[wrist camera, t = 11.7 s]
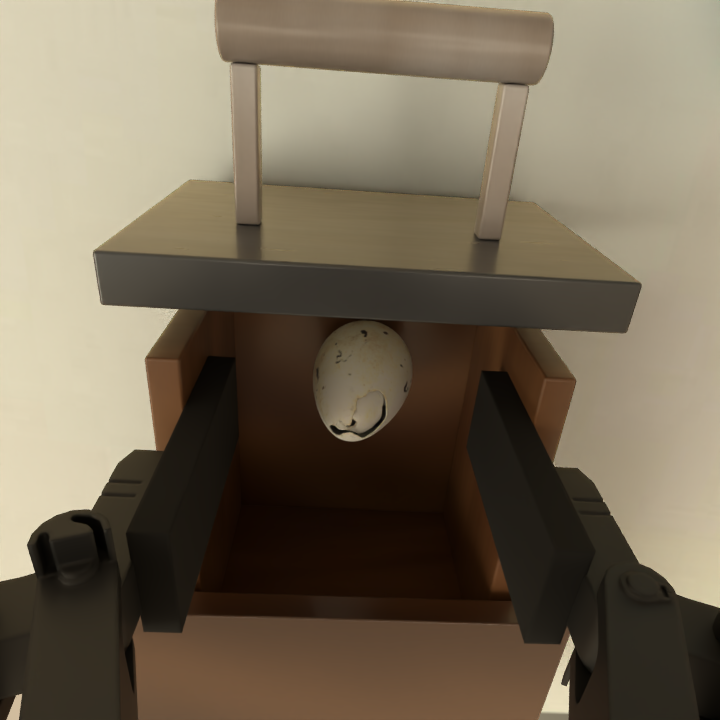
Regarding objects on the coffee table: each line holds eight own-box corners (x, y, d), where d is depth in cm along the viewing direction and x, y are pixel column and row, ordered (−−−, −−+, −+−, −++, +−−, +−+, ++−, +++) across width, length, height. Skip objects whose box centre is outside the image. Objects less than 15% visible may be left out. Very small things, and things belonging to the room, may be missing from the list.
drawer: (175, -1, 16) (42, -48, 9) (570, 32, 16) (732, 10, 9) (211, 498, 24) (158, 670, 18) (470, 508, 25) (516, 679, 18)
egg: (402, 385, 21) (417, 473, 16) (315, 381, 20) (306, 469, 16) (411, 306, 19) (430, 379, 15) (317, 301, 19) (308, 373, 15)
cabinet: (196, 413, 23) (111, 613, 15) (494, 427, 24) (573, 626, 16) (215, 640, 30) (163, 865, 22) (446, 646, 31) (484, 867, 22)
